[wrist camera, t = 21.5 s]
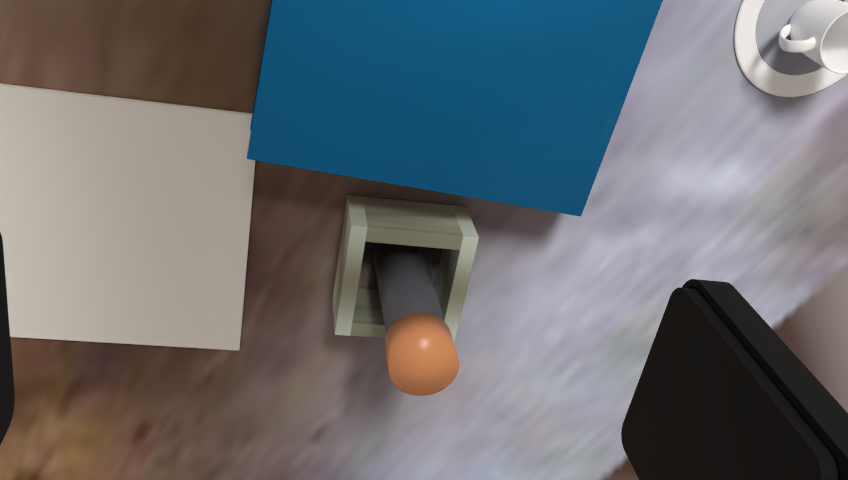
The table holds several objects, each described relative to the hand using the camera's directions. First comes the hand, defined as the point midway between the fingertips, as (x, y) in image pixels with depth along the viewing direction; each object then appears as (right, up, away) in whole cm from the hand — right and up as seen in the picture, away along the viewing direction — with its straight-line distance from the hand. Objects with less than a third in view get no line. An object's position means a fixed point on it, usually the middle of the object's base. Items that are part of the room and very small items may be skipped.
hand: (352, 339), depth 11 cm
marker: (0, +1, +32) cm, 32 cm away
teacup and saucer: (+23, +11, +31) cm, 40 cm away
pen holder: (0, +1, +32) cm, 32 cm away
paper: (-15, +2, +29) cm, 33 cm away
